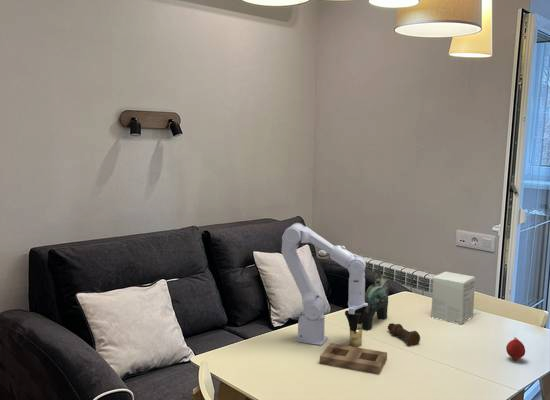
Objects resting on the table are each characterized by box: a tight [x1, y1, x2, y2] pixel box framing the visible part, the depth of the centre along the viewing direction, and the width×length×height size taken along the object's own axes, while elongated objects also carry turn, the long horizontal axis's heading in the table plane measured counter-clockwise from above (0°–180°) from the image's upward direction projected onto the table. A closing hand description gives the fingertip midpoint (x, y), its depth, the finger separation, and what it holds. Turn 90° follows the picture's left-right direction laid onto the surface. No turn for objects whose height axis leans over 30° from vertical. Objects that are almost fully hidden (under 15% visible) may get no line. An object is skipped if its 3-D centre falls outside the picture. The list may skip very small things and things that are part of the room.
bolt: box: [387, 323, 421, 347], centre depth 195 cm, size 6×5×15 cm
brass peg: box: [348, 326, 363, 348], centre depth 189 cm, size 4×4×6 cm
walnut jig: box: [319, 342, 388, 375], centre depth 175 cm, size 20×12×2 cm, turn 67°
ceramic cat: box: [361, 273, 391, 331], centre depth 210 cm, size 20×6×20 cm, turn 144°
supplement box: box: [430, 271, 476, 325], centre depth 217 cm, size 13×13×18 cm
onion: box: [505, 336, 526, 361], centre depth 176 cm, size 6×6×8 cm
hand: (356, 327), depth 188 cm, fingers open, 7 cm apart
